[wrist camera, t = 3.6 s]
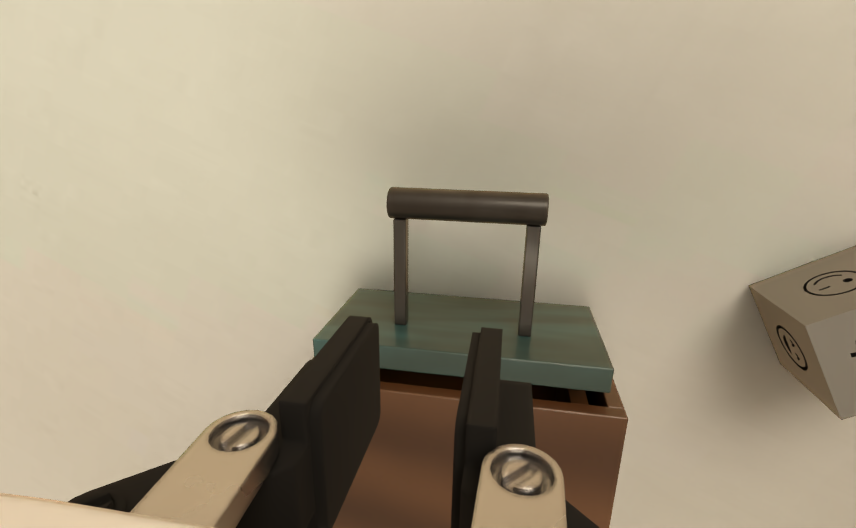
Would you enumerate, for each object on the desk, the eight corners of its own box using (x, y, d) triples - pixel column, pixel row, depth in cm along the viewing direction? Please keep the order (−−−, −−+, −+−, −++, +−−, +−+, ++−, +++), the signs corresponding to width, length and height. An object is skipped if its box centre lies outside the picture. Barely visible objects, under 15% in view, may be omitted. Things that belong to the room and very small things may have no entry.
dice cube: (856, 245, 23) (945, 278, 18) (885, 329, 24) (977, 381, 19) (748, 285, 24) (805, 325, 20) (780, 363, 25) (841, 419, 20)
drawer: (354, 174, 25) (302, 192, 19) (605, 183, 23) (639, 208, 17) (365, 482, 32) (328, 572, 25) (562, 512, 30) (575, 618, 23)
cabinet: (354, 307, 29) (294, 379, 21) (594, 328, 26) (628, 418, 19) (362, 502, 33) (315, 621, 26) (565, 535, 31) (583, 676, 23)
